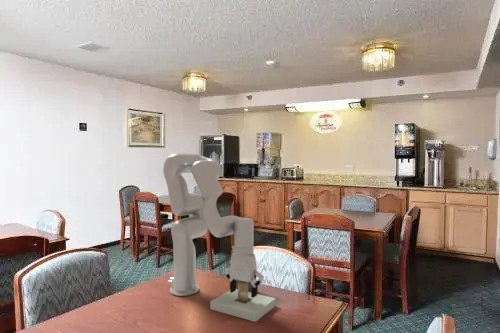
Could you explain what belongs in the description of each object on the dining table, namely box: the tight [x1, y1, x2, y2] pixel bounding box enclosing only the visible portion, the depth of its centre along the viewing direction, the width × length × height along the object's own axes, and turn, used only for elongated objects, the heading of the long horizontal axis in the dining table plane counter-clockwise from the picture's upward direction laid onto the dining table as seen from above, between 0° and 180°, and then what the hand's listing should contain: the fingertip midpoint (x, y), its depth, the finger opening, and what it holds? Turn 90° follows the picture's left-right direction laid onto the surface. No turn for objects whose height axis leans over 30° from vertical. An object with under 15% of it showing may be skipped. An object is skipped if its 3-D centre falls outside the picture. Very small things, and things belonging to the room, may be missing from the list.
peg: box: [238, 281, 248, 304], centre depth 135 cm, size 4×4×10 cm
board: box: [210, 289, 277, 323], centre depth 135 cm, size 20×16×3 cm
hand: (243, 293), depth 135 cm, fingers open, 9 cm apart
